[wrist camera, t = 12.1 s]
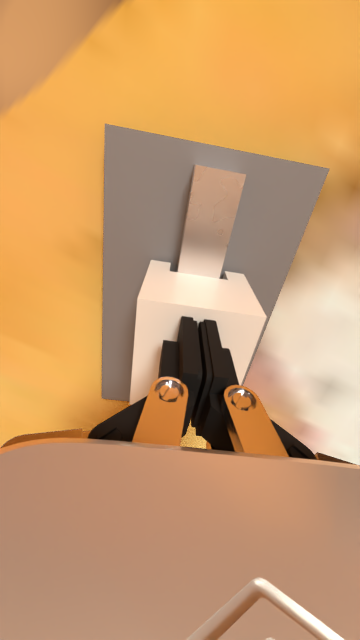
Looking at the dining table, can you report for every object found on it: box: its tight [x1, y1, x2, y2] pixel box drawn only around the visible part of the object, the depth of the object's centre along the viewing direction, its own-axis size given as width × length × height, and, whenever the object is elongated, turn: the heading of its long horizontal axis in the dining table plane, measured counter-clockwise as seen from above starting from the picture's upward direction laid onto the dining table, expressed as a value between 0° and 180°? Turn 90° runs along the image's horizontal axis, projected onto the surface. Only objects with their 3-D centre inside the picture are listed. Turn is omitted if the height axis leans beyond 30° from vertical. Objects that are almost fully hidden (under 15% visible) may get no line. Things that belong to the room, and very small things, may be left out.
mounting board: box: [102, 124, 329, 402], centre depth 19 cm, size 12×20×2 cm, turn 171°
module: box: [129, 260, 267, 420], centre depth 16 cm, size 6×7×6 cm
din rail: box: [176, 165, 246, 279], centre depth 18 cm, size 2×18×2 cm, turn 171°
